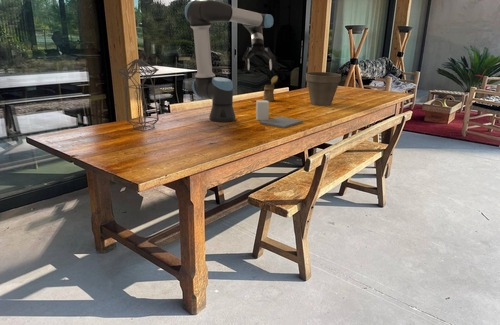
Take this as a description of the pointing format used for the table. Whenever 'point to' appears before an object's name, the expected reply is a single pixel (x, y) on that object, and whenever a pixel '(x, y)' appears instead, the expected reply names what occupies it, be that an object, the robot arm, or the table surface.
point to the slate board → (281, 122)
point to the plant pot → (322, 87)
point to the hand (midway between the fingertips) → (259, 68)
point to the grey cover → (262, 110)
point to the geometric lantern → (139, 90)
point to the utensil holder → (270, 90)
